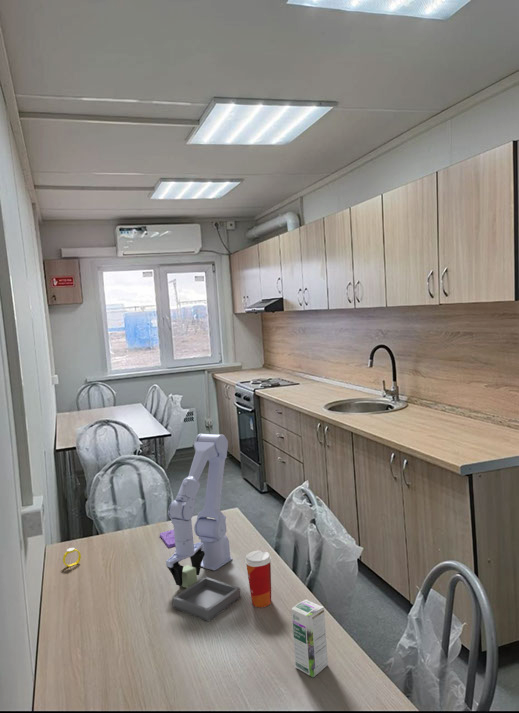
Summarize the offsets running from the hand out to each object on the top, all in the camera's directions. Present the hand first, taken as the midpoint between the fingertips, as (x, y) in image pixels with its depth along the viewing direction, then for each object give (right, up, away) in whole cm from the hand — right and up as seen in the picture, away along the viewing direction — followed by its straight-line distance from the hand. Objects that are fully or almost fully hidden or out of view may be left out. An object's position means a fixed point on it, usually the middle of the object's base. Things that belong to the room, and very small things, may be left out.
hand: (187, 579), depth 165 cm
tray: (+7, -2, -12) cm, 14 cm away
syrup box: (+35, -2, -43) cm, 56 cm away
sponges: (-11, 0, +35) cm, 37 cm away
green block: (0, -2, 0) cm, 2 cm away
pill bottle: (+23, -1, -14) cm, 27 cm away
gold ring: (-44, -4, +20) cm, 48 cm away
